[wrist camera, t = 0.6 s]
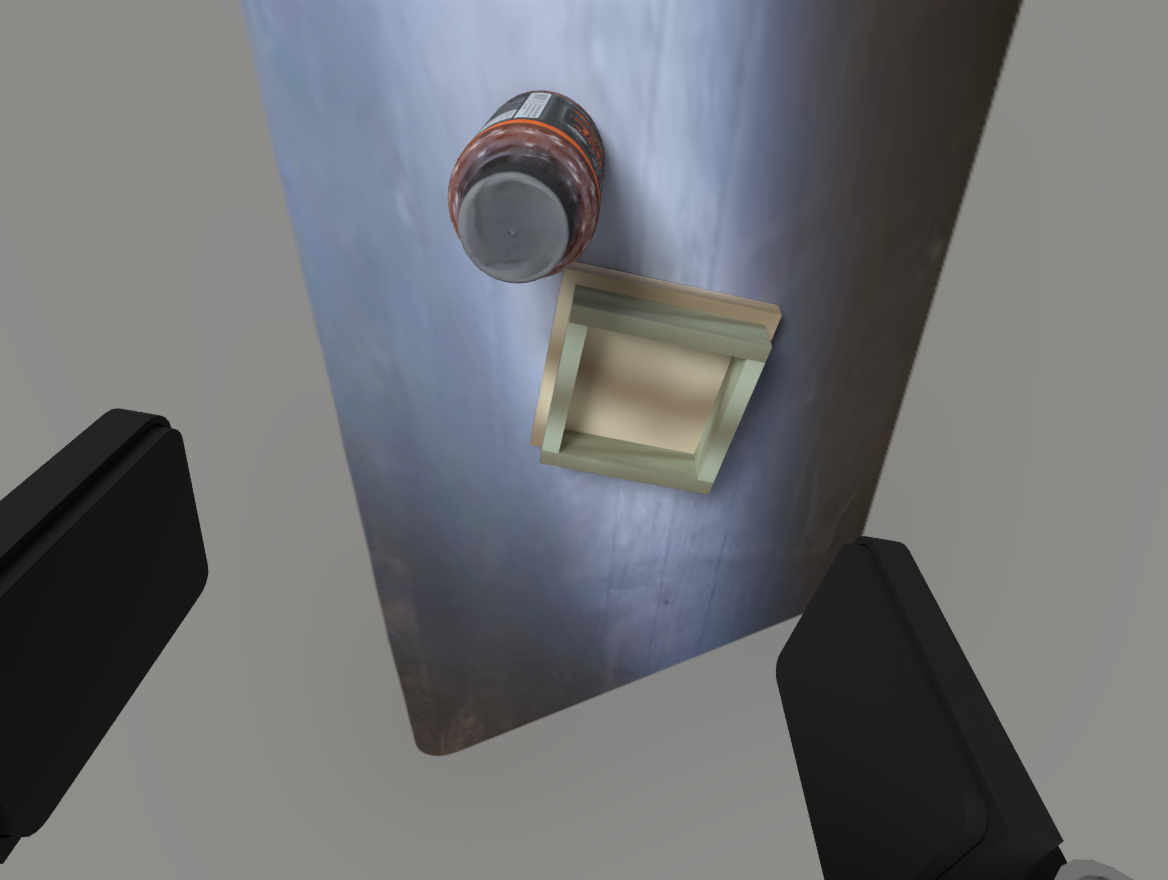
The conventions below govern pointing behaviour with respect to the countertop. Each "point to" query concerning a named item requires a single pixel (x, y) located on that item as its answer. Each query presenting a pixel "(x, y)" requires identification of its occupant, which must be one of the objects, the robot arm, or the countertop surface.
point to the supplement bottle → (528, 188)
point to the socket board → (648, 377)
